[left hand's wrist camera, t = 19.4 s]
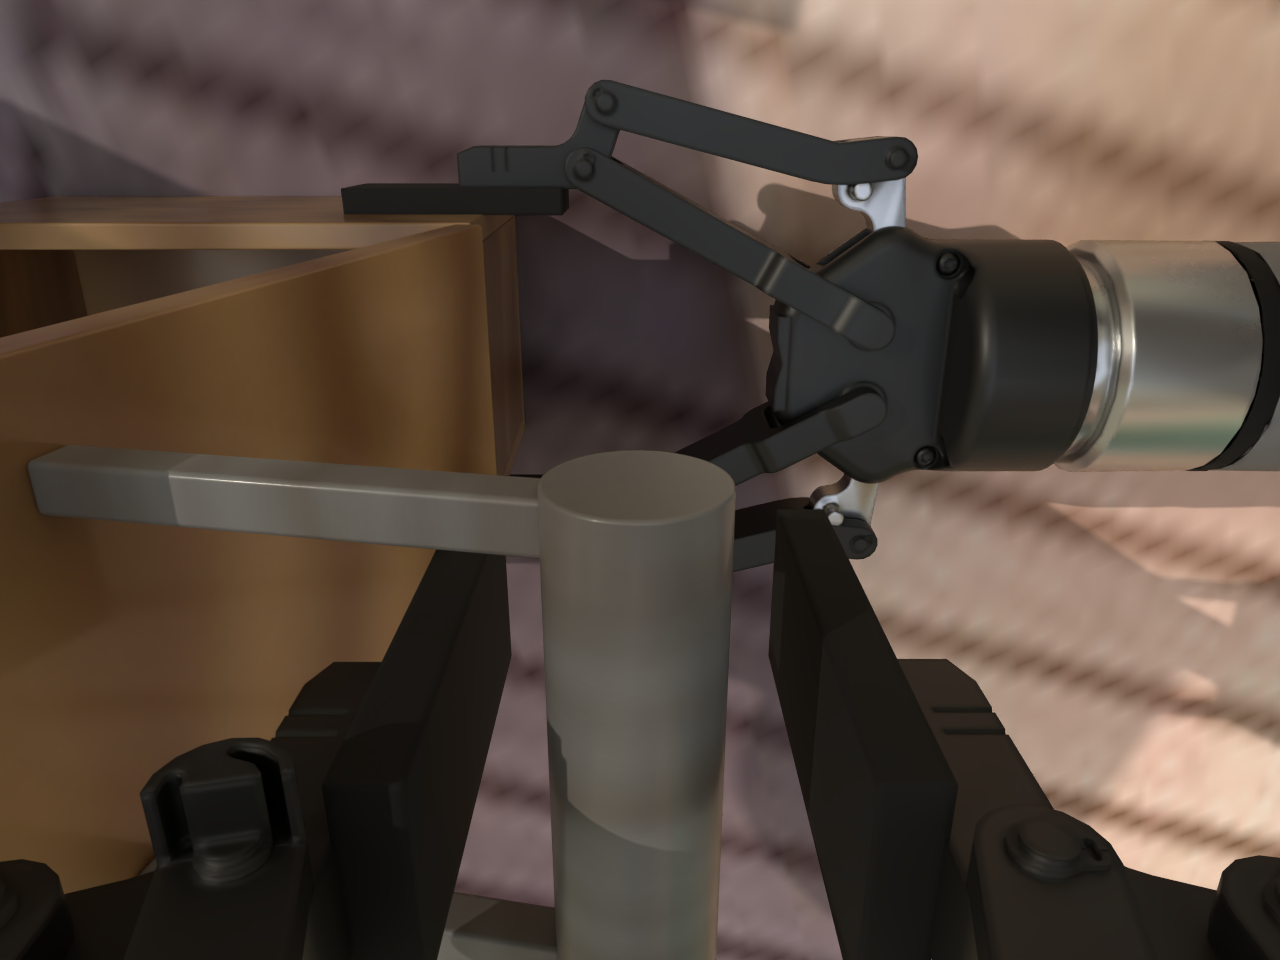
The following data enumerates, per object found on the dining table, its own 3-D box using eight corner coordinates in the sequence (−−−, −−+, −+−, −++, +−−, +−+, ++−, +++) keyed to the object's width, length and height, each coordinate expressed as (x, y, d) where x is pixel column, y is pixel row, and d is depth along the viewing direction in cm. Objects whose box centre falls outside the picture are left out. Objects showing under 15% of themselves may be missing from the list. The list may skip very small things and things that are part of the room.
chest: (106, 432, 37) (-80, 540, 28) (53, 196, 34) (-180, 222, 24) (525, 430, 38) (490, 536, 28) (514, 196, 34) (470, 222, 24)
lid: (-44, 1151, 11) (680, 1322, 9) (-342, 421, 8) (703, 497, 6) (476, 541, 27) (772, 567, 26) (453, 224, 24) (792, 230, 23)
